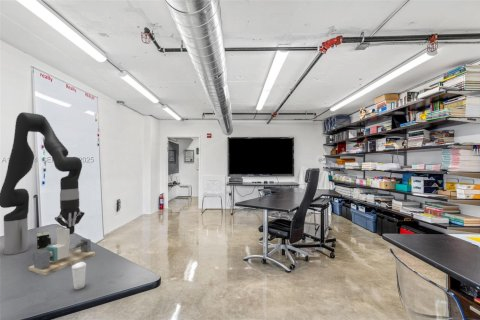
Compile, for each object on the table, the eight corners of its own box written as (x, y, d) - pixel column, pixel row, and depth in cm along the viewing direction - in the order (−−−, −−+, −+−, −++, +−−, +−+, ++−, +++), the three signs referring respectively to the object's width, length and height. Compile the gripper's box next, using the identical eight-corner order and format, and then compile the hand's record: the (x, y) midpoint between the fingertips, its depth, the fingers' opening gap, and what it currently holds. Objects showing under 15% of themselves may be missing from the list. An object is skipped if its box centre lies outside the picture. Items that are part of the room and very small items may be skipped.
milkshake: (74, 284, 91) (74, 258, 90) (89, 283, 91) (88, 258, 91) (66, 291, 86) (66, 263, 86) (82, 290, 86) (81, 263, 86)
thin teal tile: (49, 258, 108) (49, 245, 108) (57, 260, 106) (57, 247, 106) (46, 259, 107) (46, 246, 107) (54, 261, 104) (54, 248, 104)
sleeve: (60, 254, 113) (60, 227, 113) (70, 256, 110) (69, 228, 110) (48, 258, 108) (48, 230, 108) (58, 260, 105) (57, 231, 105)
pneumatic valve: (37, 259, 114) (37, 235, 114) (36, 252, 123) (36, 230, 123) (52, 256, 118) (51, 232, 118) (50, 250, 127) (49, 227, 127)
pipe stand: (79, 251, 123) (79, 235, 123) (95, 255, 119) (95, 238, 119) (28, 270, 103) (28, 251, 103) (45, 275, 98) (44, 254, 98)
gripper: (78, 195, 121) (79, 229, 121) (49, 200, 109) (50, 237, 109) (88, 196, 118) (89, 230, 118) (59, 201, 106) (60, 239, 106)
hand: (70, 233), depth 114 cm, fingers closed
